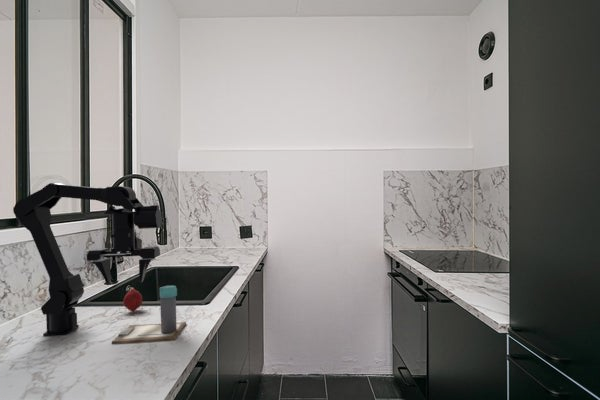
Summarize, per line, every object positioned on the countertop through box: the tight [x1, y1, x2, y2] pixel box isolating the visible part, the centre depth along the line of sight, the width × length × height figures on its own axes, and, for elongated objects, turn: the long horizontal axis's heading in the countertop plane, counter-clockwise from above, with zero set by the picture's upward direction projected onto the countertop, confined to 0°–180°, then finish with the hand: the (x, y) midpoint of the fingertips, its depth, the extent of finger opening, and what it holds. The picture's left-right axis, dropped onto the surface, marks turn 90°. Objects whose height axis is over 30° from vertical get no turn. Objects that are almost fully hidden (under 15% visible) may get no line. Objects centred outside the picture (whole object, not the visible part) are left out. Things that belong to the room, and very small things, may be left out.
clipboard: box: [111, 321, 187, 345], centre depth 98 cm, size 16×12×1 cm
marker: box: [159, 285, 178, 334], centre depth 98 cm, size 4×4×12 cm
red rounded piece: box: [122, 287, 143, 312], centre depth 119 cm, size 6×6×8 cm
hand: (125, 283), depth 104 cm, fingers open, 9 cm apart
